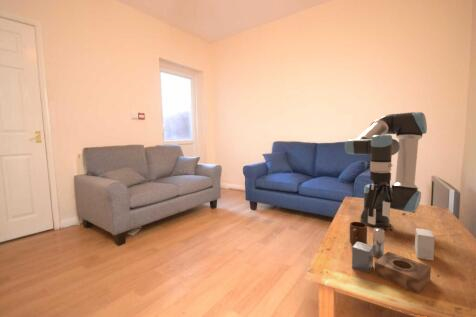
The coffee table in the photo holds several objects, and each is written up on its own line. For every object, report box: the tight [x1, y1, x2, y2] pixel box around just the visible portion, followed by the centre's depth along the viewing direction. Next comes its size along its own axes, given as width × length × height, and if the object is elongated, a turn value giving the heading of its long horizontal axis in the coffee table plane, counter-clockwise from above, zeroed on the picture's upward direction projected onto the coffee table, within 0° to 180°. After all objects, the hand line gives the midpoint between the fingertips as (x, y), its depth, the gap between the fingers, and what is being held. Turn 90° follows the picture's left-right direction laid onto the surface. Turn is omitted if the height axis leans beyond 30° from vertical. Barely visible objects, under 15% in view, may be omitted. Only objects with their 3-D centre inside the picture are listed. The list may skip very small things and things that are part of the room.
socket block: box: [373, 251, 432, 294], centre depth 86 cm, size 14×12×5 cm
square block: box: [351, 242, 374, 275], centre depth 93 cm, size 6×6×9 cm
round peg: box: [372, 227, 385, 259], centre depth 101 cm, size 4×4×12 cm
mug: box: [349, 221, 368, 246], centre depth 111 cm, size 12×8×9 cm, turn 139°
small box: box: [414, 227, 435, 261], centre depth 100 cm, size 8×6×10 cm
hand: (379, 219), depth 99 cm, fingers open, 13 cm apart
